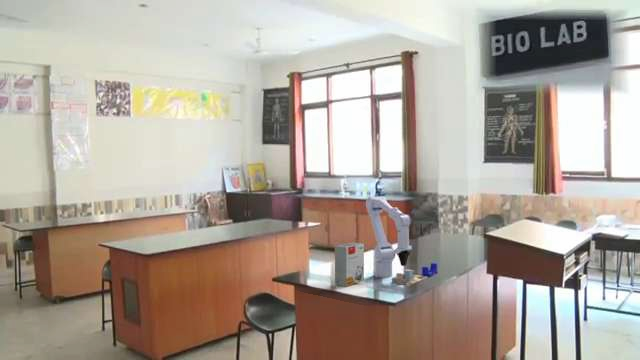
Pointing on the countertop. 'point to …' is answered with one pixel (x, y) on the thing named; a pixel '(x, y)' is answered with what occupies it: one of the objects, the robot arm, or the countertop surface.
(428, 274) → the cable clip
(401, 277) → the board
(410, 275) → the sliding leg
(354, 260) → the hard drive box
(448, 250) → the countertop surface
